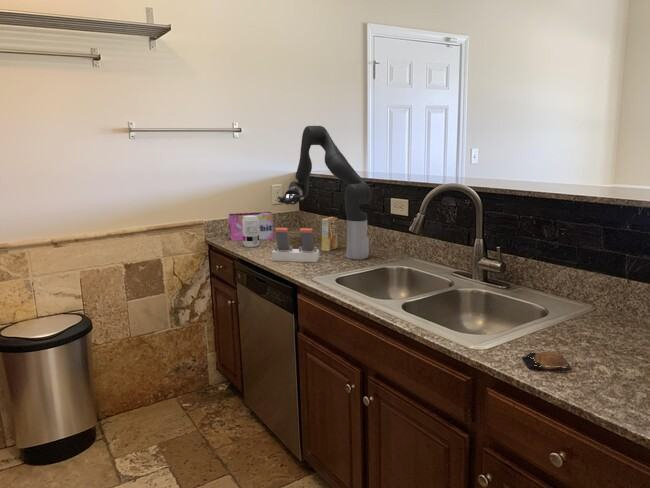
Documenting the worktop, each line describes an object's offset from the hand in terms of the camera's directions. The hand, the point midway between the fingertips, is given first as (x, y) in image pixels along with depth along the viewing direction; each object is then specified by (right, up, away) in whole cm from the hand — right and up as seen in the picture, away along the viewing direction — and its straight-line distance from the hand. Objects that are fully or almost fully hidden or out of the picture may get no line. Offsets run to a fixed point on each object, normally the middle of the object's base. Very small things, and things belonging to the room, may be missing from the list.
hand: (287, 202), depth 227 cm
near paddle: (+10, -21, -7) cm, 24 cm away
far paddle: (-1, -21, -5) cm, 22 cm away
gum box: (-22, -16, +42) cm, 50 cm away
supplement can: (-20, -20, +24) cm, 37 cm away
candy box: (+19, -22, +16) cm, 33 cm away
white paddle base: (+4, -26, -5) cm, 27 cm away
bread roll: (+70, -49, -107) cm, 137 cm away
